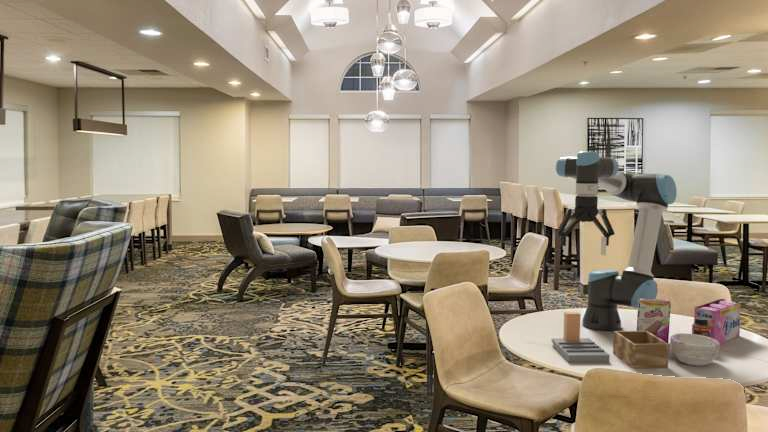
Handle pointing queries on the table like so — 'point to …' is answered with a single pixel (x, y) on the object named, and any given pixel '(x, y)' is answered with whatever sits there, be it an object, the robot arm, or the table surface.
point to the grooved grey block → (577, 343)
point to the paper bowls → (694, 348)
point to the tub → (640, 349)
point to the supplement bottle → (701, 327)
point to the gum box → (721, 319)
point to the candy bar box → (654, 317)
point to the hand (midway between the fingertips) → (584, 255)
